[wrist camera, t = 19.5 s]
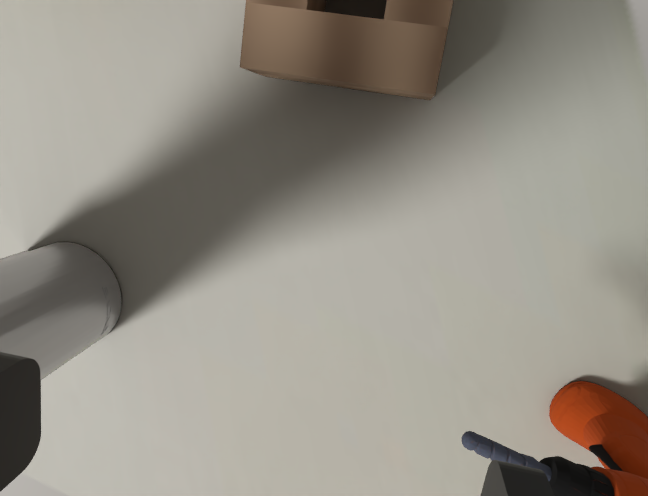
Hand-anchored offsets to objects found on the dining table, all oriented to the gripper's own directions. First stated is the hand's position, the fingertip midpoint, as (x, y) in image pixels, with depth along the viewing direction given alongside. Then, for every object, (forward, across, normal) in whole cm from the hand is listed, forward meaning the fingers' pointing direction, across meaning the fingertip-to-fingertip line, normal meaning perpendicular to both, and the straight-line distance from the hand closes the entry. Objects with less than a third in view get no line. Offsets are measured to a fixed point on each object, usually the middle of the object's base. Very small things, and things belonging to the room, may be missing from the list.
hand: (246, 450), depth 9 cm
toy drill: (+30, -16, +12) cm, 36 cm away
